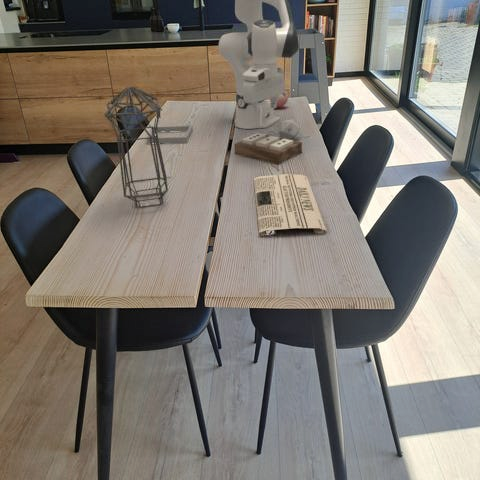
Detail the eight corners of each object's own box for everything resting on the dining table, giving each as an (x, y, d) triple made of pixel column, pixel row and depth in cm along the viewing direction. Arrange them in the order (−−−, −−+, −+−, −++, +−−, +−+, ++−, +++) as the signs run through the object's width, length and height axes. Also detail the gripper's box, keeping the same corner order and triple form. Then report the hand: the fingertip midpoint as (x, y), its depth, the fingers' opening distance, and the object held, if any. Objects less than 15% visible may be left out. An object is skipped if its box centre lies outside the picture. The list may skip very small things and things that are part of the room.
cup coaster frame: (155, 132, 207) (154, 126, 206) (192, 130, 206) (192, 125, 205) (147, 144, 192) (146, 138, 191) (187, 143, 191) (186, 137, 190)
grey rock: (273, 141, 190) (279, 127, 181) (279, 126, 193) (285, 111, 185) (292, 148, 190) (298, 134, 181) (297, 133, 194) (303, 118, 185)
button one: (270, 143, 179) (270, 135, 177) (279, 145, 176) (279, 137, 175) (256, 149, 173) (255, 141, 171) (265, 151, 171) (265, 143, 169)
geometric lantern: (123, 215, 136) (99, 95, 118) (124, 193, 149) (103, 83, 131) (175, 208, 138) (160, 89, 120) (172, 188, 151) (157, 78, 134)
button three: (257, 140, 183) (257, 132, 181) (266, 142, 180) (265, 134, 178) (243, 146, 177) (242, 138, 175) (251, 148, 174) (251, 140, 173)
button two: (283, 146, 175) (283, 138, 173) (293, 148, 173) (293, 140, 171) (269, 152, 169) (269, 144, 168) (279, 155, 167) (279, 146, 165)
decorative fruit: (266, 109, 233) (266, 88, 228) (275, 105, 238) (275, 85, 233) (281, 111, 227) (281, 90, 222) (290, 107, 233) (290, 87, 227)
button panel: (258, 143, 187) (258, 133, 185) (301, 152, 175) (301, 142, 173) (234, 153, 177) (234, 143, 175) (278, 164, 165) (278, 153, 163)
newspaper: (253, 183, 153) (253, 175, 151) (311, 180, 152) (312, 172, 151) (259, 238, 121) (258, 229, 119) (332, 235, 120) (332, 226, 119)
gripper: (275, 65, 169) (276, 103, 176) (239, 75, 156) (241, 116, 163) (289, 67, 165) (289, 105, 172) (253, 77, 152) (254, 118, 159)
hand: (265, 110), depth 167 cm, fingers open, 8 cm apart
